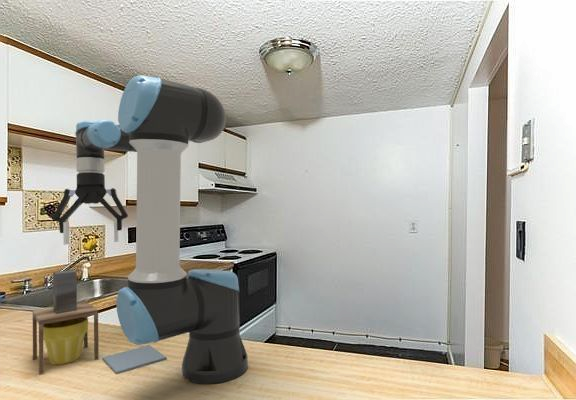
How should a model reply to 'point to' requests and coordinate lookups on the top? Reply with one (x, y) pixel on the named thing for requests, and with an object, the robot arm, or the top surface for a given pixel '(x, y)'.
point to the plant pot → (65, 339)
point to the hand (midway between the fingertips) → (91, 243)
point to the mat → (133, 359)
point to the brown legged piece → (63, 312)
